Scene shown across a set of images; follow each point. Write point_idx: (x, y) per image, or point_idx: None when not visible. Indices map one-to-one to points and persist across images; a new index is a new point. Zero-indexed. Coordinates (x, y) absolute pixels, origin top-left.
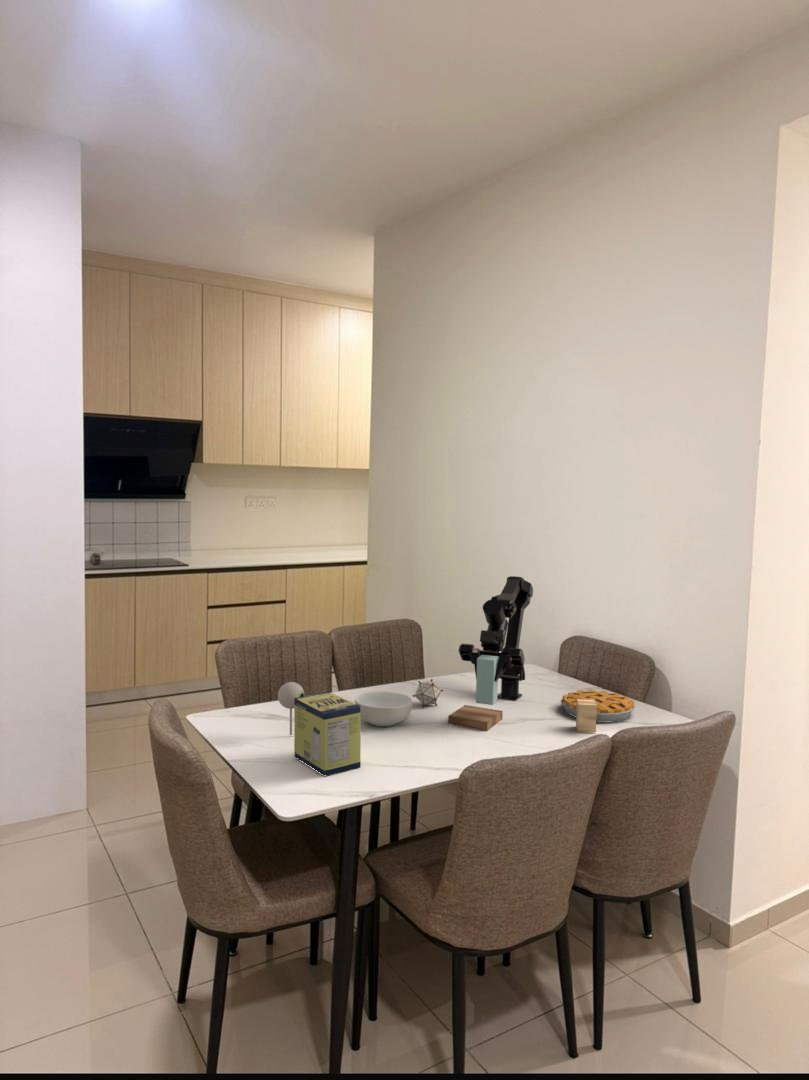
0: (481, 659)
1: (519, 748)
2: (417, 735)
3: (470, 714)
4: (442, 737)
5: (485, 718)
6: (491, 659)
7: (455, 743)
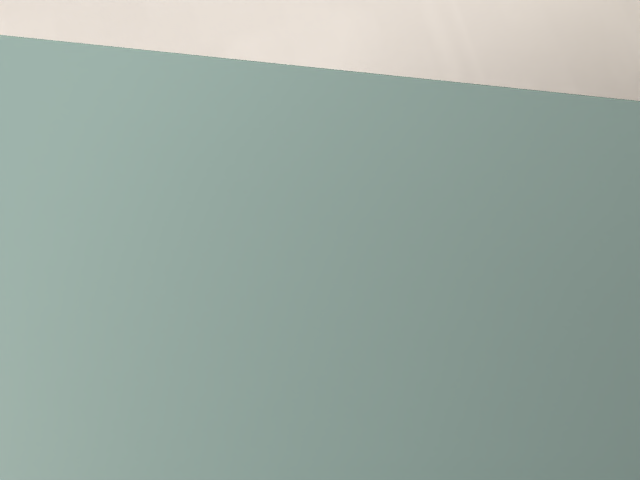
0: (552, 100)
1: (6, 24)
2: (603, 69)
3: None
4: (469, 76)
5: None
6: (58, 165)
7: (375, 9)
